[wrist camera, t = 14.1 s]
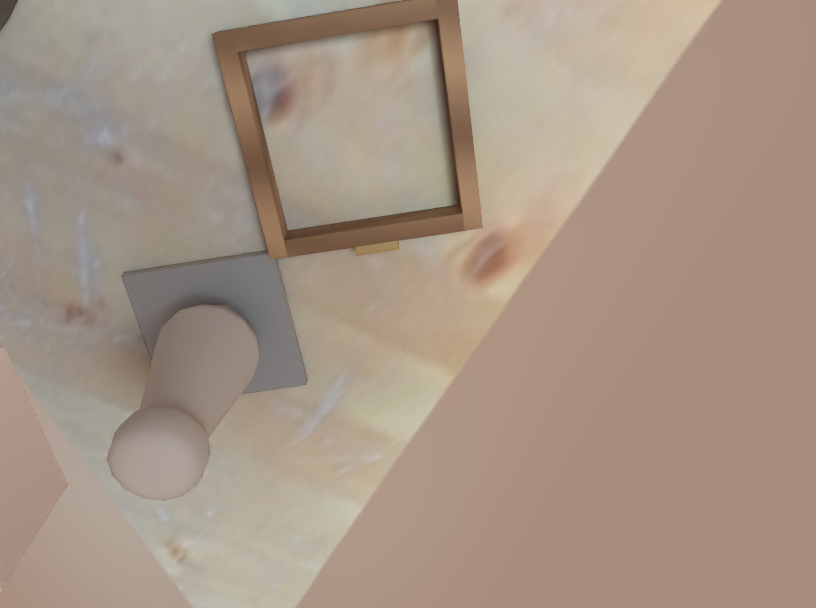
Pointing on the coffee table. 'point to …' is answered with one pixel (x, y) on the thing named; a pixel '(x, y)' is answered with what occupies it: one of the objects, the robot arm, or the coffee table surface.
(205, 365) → the salt shaker
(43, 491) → the robot arm
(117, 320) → the coffee table surface
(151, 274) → the coaster
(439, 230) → the brown wooden frame
